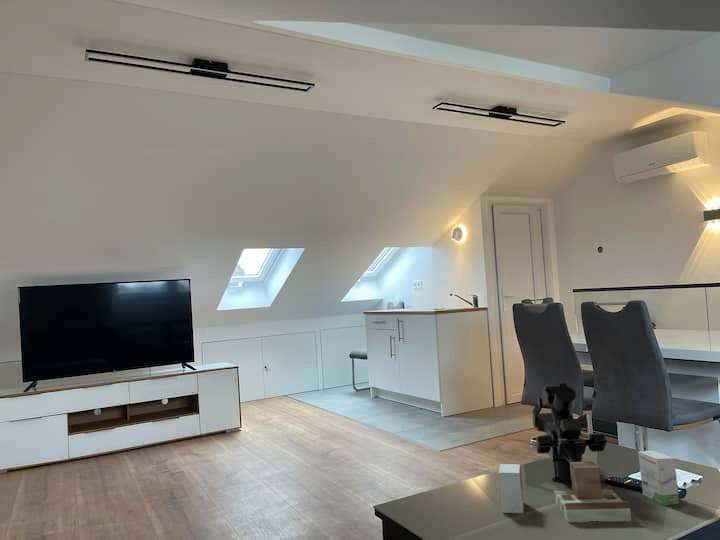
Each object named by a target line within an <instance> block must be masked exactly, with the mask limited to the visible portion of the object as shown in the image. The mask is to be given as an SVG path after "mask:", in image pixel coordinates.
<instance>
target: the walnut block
mask: <svg viewBox="0 0 720 540" xmlns="http://www.w3.org/2000/svg"><path fill="white" fill-rule="evenodd" d="M570 470H571V480H572V484H571V491H573V494H574V495H575V496H576V498H577V499H578V500H584V499H602V493H601V490H602V485H601V475H600V467H599V466H598V465H597V464H596V463H595V462H594V461H581V462H570Z"/></svg>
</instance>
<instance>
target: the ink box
mask: <svg viewBox="0 0 720 540" xmlns="http://www.w3.org/2000/svg"><path fill="white" fill-rule="evenodd" d="M638 460H639V461H638V463H639V469H640V479H641V489H642V495H644V496H645V497H646V498H649V499H650V500H652V501H654V502H656V503H657V504H659V505H661V506H664V507H665V506H673V505H678V504H680V495H679V489H678V488H679V487H678V486H679V485H678V480H677V471H676V465H675V464H676V463H675V458H674V457H671V456H669V455H666V454H664V453H661V452H659V451H657V450H640V451H638Z"/></svg>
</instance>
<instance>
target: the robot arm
mask: <svg viewBox="0 0 720 540" xmlns="http://www.w3.org/2000/svg"><path fill="white" fill-rule="evenodd" d="M576 397H577V393H576V391H575V390H574V389H573V387H571V386H568V385H567V383H565V382H564V383H562V382H561V383H558V384H552V385H551V384H550V385H544V387H543V389H542V395H540V396H538V397H537V402H536V405H535V406H534V408H533V409H532V425H533V428H535V430H536V431H538V432H541V433H542V432H543V433H545V434H541V435H538V436H536V441H535V442H536V443H535V448H536V453H537V454H539V455H540V454H548V457H549V459H550V461H551V462H553V468H554V469H553V470H554V471H553V472H554V477H552V479H551V481H554V482H559V483H563V484H567V485H572V480H571V470H570V462H582V459H583V456H582V455H585V452H586V449H587V447H588V450H589V451H591V452H594V453H595V452H604V451H605V449H606V445H607V442H608V440H607V437H606V435H605V434H604V433H603V432H594V433H593V432H592V433H589V435H588V438H580V437H581V436H582V431H583V430H582V429H587V428H588V424H589V423H588V421H587V418H586V416H585V415H581V416H580V415H579V416H578V417H577V418H574V415H573V412H572V411H573V410H574V407H575V403H576ZM542 409H550V412H541V411H542ZM540 412H541V413H540Z"/></svg>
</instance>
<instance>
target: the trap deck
mask: <svg viewBox="0 0 720 540" xmlns="http://www.w3.org/2000/svg"><path fill="white" fill-rule="evenodd" d="M601 493H602V499H584V500H578V499H577V498H576V496H575V495H574V494H573V490H558V491H557V490H554V491H553V494H554V503H555V505H556V506H557V508H558V510H559V511H560V513H561V512H562V513H561V514H562V515H563V518H564V519H565V520H567V521H566V522H567V523H592V522H591V521H594V522H595V521H599V522H606V523H607V522H632V513H631V505H630V504H631V503H630V501H629V500H628V501H627V500H625V501H623V500H622V498H621V497H620V496H619V495H618V494H617V493H616V492H615V491H614V490H613V489H601ZM589 521H590V522H589ZM594 522H593V523H594ZM599 522H598V523H599ZM595 523H596V522H595Z"/></svg>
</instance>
